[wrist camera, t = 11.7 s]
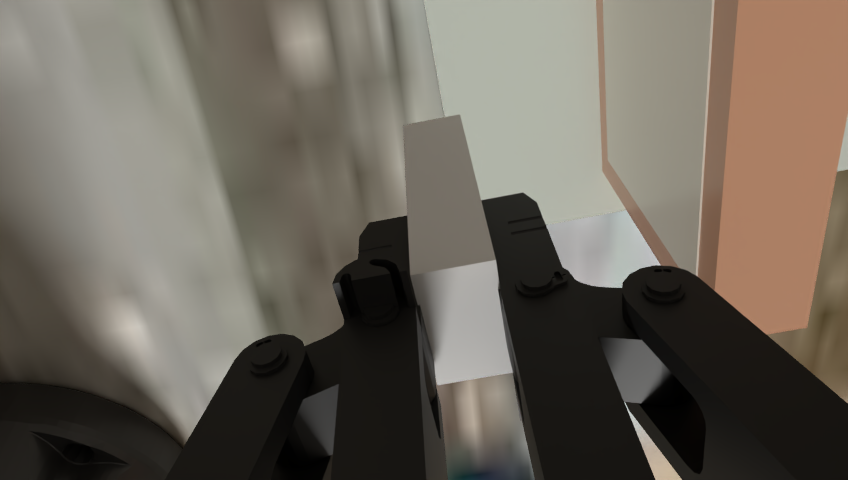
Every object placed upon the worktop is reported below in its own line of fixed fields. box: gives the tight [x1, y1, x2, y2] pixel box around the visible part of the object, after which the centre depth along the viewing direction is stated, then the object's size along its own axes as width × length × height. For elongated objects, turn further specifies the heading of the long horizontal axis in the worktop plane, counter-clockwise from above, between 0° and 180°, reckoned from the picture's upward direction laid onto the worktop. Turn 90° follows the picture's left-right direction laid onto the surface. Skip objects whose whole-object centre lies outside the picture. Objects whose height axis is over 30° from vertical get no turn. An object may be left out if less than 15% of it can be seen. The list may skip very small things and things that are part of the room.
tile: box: [596, 0, 848, 334], centre depth 18 cm, size 3×10×10 cm, turn 10°
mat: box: [424, 0, 848, 225], centre depth 22 cm, size 20×14×1 cm
